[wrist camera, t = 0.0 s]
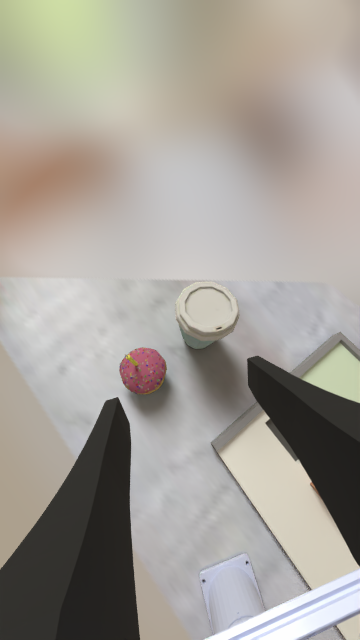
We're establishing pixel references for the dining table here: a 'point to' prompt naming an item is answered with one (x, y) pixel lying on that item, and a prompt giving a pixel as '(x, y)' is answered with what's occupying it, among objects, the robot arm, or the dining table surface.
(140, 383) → the cupcake
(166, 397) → the dining table surface
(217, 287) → the disposable coffee cup
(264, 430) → the sectioned serving tray
